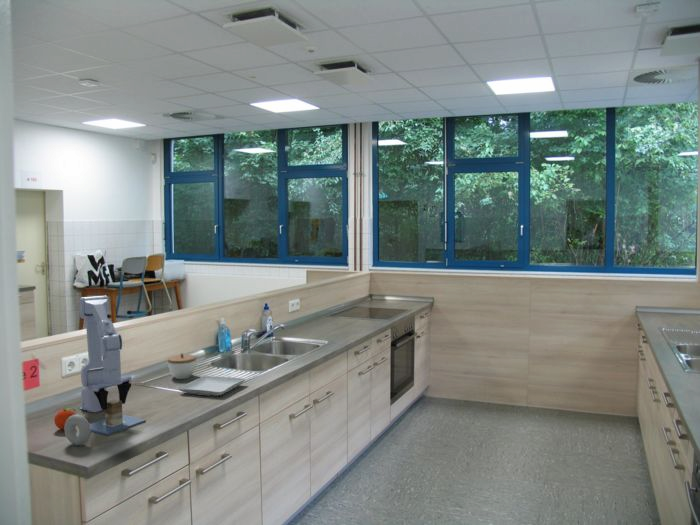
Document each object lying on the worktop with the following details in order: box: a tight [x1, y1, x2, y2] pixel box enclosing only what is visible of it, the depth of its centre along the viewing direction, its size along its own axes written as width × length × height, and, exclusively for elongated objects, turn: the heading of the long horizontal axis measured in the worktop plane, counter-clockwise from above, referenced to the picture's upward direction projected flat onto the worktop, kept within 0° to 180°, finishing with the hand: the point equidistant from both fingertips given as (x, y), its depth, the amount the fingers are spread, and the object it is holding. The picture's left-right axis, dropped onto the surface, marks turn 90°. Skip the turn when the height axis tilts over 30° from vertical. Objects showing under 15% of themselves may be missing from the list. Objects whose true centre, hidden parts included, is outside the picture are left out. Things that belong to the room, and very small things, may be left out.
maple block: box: [104, 411, 124, 426], centre depth 205 cm, size 4×4×4 cm
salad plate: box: [177, 375, 246, 397], centre depth 248 cm, size 21×21×3 cm
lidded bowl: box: [167, 352, 197, 380], centre depth 270 cm, size 13×13×11 cm
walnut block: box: [104, 398, 123, 415], centre depth 204 cm, size 4×4×4 cm
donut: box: [64, 413, 92, 446], centre depth 186 cm, size 10×4×10 cm, turn 67°
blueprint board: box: [89, 413, 147, 437], centre depth 205 cm, size 14×16×1 cm
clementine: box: [54, 407, 77, 430], centre depth 202 cm, size 8×7×7 cm
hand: (113, 406), depth 205 cm, fingers open, 7 cm apart
